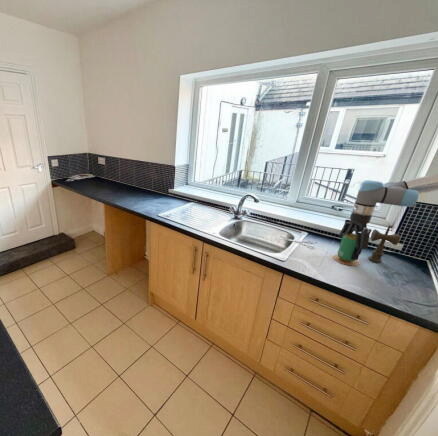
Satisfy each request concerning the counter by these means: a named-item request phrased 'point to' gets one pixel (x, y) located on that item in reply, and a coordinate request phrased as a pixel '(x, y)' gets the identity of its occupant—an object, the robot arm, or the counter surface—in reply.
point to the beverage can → (347, 247)
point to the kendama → (382, 243)
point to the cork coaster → (350, 263)
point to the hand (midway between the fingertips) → (347, 254)
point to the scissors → (302, 243)
